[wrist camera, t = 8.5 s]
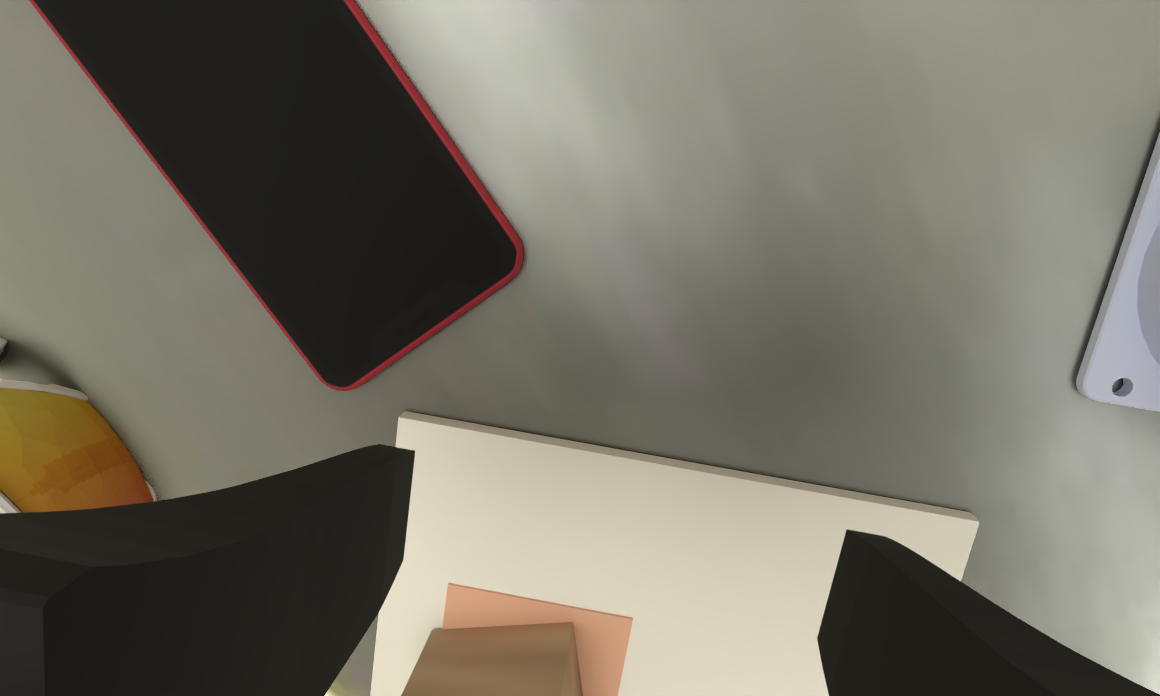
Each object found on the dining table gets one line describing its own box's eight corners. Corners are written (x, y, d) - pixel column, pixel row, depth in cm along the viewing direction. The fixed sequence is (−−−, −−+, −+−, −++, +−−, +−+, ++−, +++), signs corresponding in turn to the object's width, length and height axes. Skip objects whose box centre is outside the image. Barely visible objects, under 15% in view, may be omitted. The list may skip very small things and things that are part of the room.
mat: (970, 512, 21) (981, 523, 20) (845, 908, 24) (851, 929, 24) (405, 410, 21) (397, 418, 21) (363, 809, 25) (356, 826, 24)
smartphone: (188, -235, 18) (534, 263, 20) (209, -214, 19) (539, 260, 21) (-7, -43, 19) (335, 403, 21) (21, -33, 20) (347, 395, 22)
